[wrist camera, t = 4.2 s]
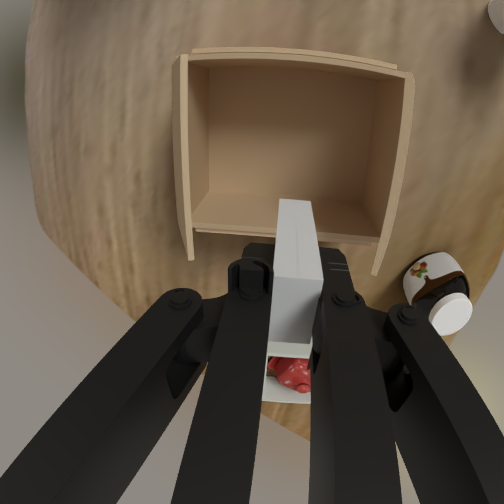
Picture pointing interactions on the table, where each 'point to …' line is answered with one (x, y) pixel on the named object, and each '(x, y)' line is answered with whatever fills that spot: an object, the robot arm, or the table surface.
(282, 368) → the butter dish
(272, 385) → the dish caddy
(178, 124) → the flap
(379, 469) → the robot arm
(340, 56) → the carton
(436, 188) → the table surface
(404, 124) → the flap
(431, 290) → the spread jar
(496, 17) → the foam cup
